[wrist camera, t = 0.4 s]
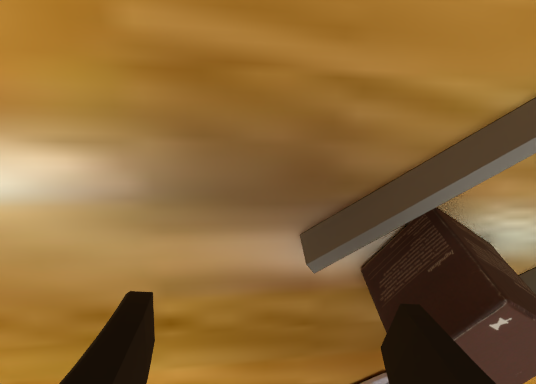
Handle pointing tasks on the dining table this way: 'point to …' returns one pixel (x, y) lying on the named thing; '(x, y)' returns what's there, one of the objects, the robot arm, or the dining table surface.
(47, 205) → the dining table surface
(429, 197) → the grey arch frame
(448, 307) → the box
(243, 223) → the dining table surface
